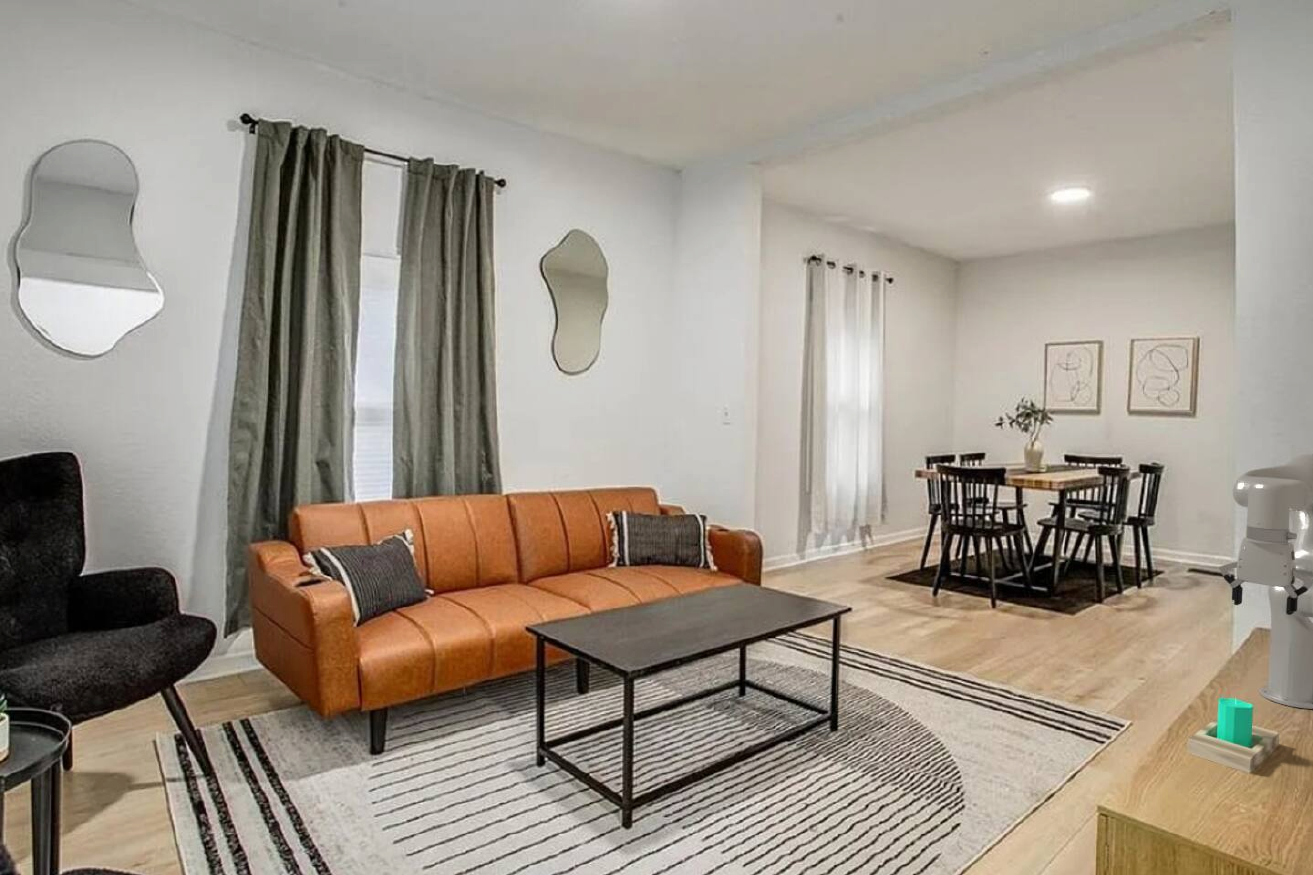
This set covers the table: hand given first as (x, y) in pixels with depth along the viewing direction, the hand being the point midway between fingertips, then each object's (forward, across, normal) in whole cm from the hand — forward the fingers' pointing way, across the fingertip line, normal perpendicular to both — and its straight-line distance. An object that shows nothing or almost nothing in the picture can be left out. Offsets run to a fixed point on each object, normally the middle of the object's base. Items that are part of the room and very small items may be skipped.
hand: (1263, 608), depth 174 cm
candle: (+28, 0, +17) cm, 33 cm away
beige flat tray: (+28, 0, +17) cm, 33 cm away
